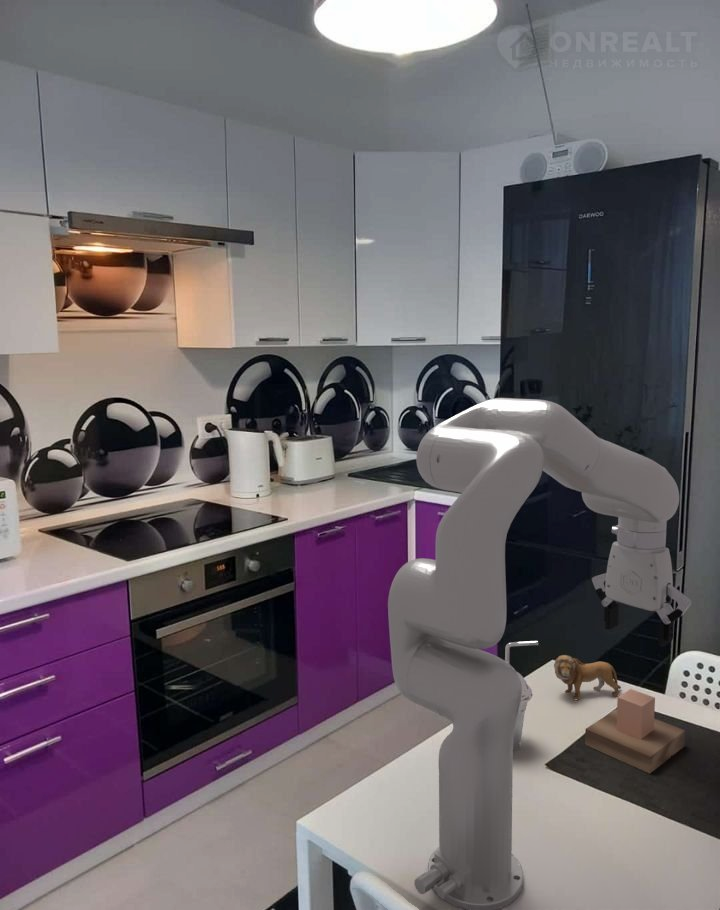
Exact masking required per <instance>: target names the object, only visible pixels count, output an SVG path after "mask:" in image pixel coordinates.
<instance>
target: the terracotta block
mask: <svg viewBox="0 0 720 910" xmlns="http://www.w3.org/2000/svg"><path fill="white" fill-rule="evenodd" d="M616 702H617V704H616V705H617V706H616V709H617V727H616V729H617V730H619V731H621V732H624V733H626V734H629V735H631V736H634V737H636V738H638V739H642V738H643V737H645V736H646V735H647V734H649V733H650V732H651V731H653V730H654V718H655V707H656V697H654V696H651V695H649V694H647V693H643V692H641V691H639V690H635V689H632V688H630V689H628V690H627V691H625V692H623V693H622V694H621V695H618V696H617V701H616Z"/></svg>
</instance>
